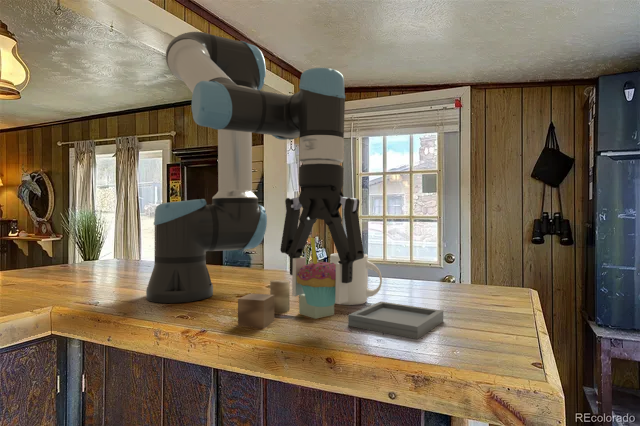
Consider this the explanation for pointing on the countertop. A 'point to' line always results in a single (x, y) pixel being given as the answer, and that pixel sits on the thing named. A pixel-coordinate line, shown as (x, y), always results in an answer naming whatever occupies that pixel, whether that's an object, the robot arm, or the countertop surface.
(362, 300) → the mug
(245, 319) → the walnut block
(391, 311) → the tray
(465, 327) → the countertop surface
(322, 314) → the sage block
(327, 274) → the cupcake
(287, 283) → the oak cylinder
